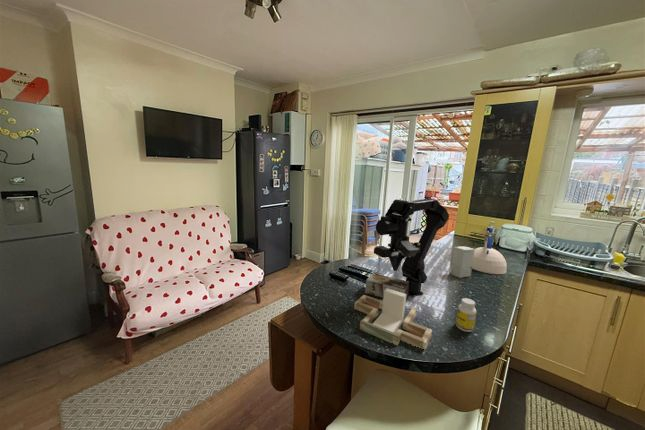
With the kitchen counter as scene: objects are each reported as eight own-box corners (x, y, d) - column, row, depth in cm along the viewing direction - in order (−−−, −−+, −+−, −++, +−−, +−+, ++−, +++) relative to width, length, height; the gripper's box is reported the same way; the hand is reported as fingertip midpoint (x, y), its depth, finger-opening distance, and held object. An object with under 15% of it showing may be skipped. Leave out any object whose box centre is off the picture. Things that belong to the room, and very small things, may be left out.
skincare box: (459, 278, 129) (463, 250, 126) (449, 273, 134) (453, 246, 131) (471, 276, 132) (475, 248, 129) (460, 271, 137) (464, 245, 135)
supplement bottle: (452, 322, 89) (456, 296, 88) (466, 322, 90) (470, 296, 88) (461, 332, 84) (466, 305, 82) (477, 332, 85) (481, 305, 83)
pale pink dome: (505, 266, 150) (510, 236, 147) (507, 278, 132) (513, 244, 129) (465, 258, 160) (470, 230, 157) (463, 268, 143) (468, 237, 140)
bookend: (384, 313, 93) (386, 288, 91) (403, 320, 89) (406, 294, 88) (371, 328, 84) (374, 300, 82) (392, 336, 80) (395, 307, 79)
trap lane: (366, 297, 104) (367, 290, 104) (437, 322, 89) (438, 314, 89) (340, 321, 87) (341, 313, 87) (422, 356, 72) (423, 347, 72)
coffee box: (364, 293, 107) (403, 304, 100) (365, 279, 106) (405, 289, 99) (371, 286, 115) (408, 295, 108) (372, 272, 114) (410, 281, 107)
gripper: (394, 239, 88) (389, 282, 90) (433, 236, 95) (428, 275, 98) (374, 232, 97) (371, 270, 100) (411, 229, 105) (407, 265, 108)
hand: (395, 270), depth 101 cm, fingers closed
